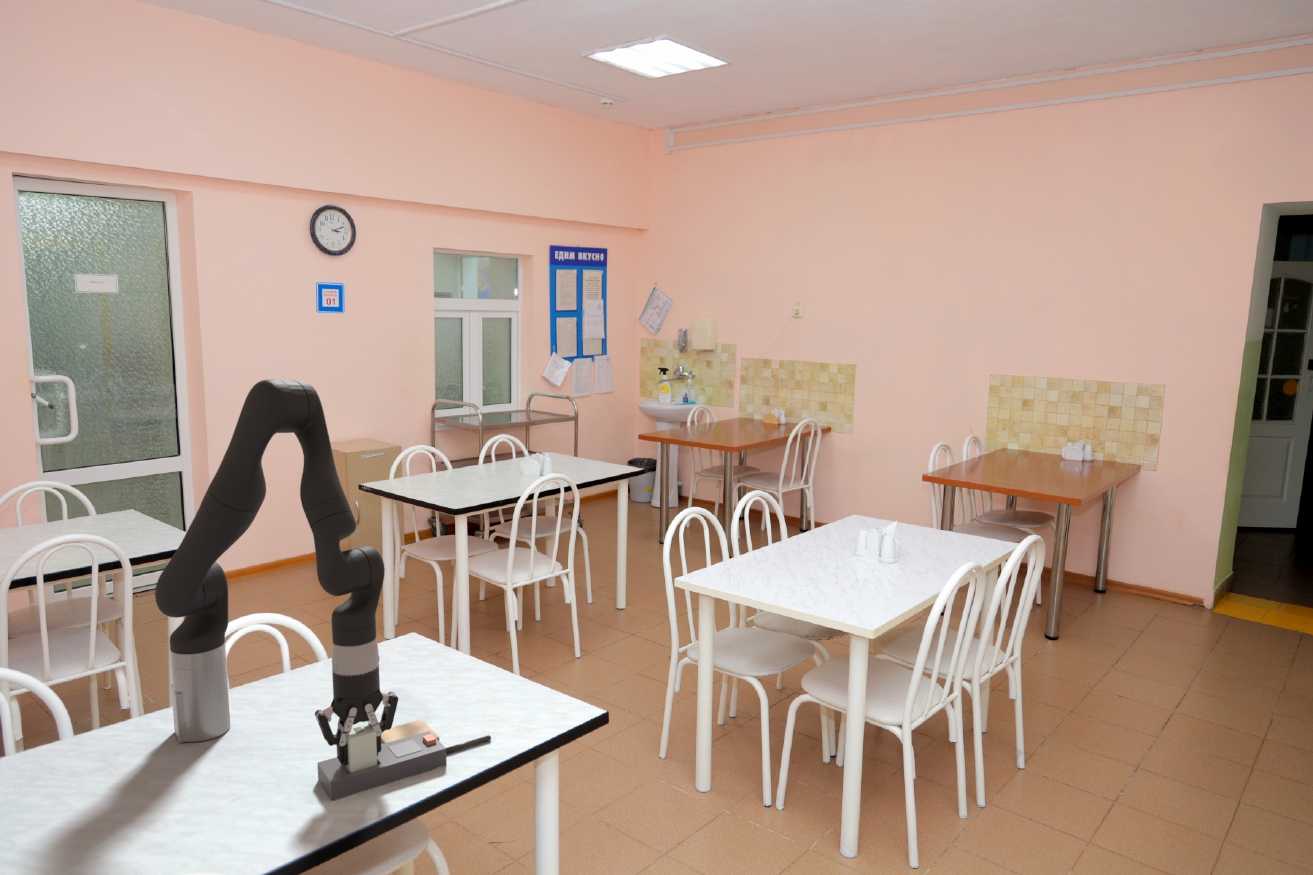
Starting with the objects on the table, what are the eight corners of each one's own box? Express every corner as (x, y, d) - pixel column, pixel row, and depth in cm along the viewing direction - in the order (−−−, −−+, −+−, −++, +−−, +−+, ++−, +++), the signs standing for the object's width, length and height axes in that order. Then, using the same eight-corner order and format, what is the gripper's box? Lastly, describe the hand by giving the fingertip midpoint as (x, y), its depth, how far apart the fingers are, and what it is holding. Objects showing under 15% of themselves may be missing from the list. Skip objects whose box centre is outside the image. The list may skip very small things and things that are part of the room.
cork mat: (392, 753, 158) (392, 750, 158) (376, 734, 166) (376, 731, 166) (439, 740, 164) (439, 737, 164) (421, 722, 171) (421, 719, 171)
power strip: (331, 800, 143) (330, 778, 142) (318, 779, 149) (317, 758, 149) (500, 748, 161) (499, 727, 160) (481, 731, 167) (481, 712, 167)
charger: (350, 777, 146) (349, 738, 145) (342, 766, 150) (341, 728, 149) (377, 770, 149) (375, 731, 148) (369, 759, 152) (367, 721, 151)
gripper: (389, 648, 154) (393, 739, 156) (305, 666, 146) (310, 762, 148) (404, 662, 148) (407, 756, 150) (318, 682, 140) (322, 781, 142)
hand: (359, 758), depth 149 cm, fingers closed on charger, 4 cm apart
